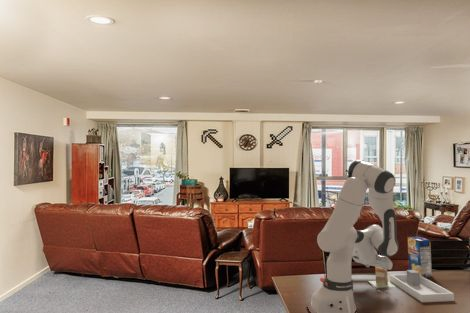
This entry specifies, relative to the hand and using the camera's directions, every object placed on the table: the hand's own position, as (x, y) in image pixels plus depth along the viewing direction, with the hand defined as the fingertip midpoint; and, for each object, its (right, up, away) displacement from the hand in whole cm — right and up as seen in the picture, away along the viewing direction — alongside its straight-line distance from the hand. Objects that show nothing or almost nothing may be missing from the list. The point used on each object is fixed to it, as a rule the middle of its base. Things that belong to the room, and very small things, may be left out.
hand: (376, 268), depth 179 cm
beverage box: (+33, -10, +15) cm, 37 cm away
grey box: (+20, -8, -2) cm, 21 cm away
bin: (+18, -9, -10) cm, 23 cm away
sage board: (+3, -10, 0) cm, 10 cm away
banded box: (+3, -9, 0) cm, 9 cm away
